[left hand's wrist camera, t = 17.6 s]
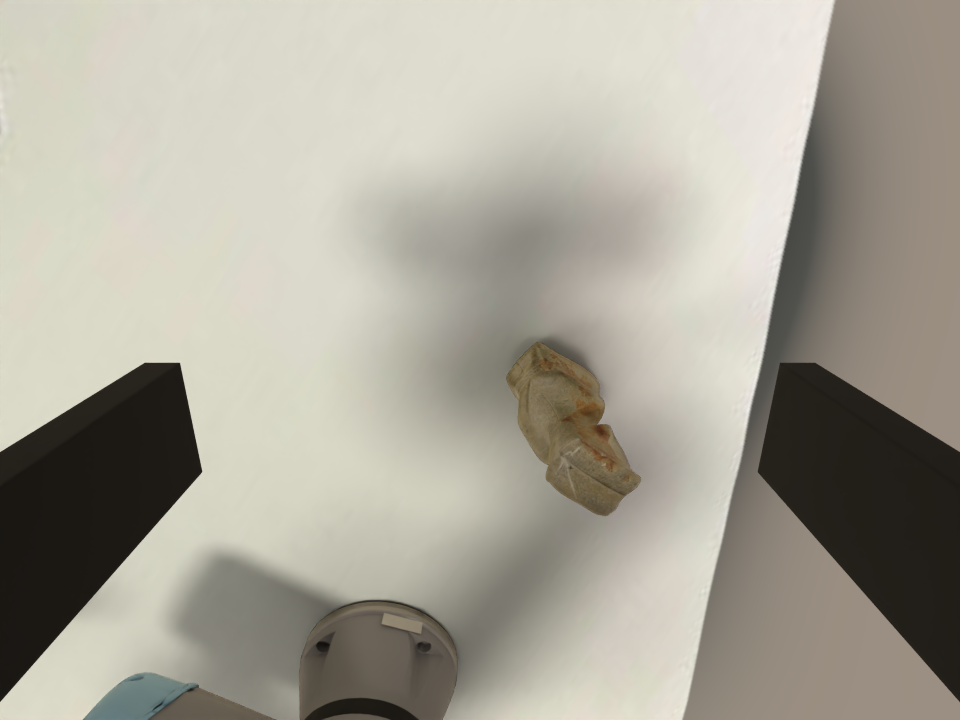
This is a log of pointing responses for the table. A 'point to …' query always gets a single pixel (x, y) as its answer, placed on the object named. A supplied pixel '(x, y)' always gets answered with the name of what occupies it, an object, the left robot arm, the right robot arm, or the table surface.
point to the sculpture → (570, 429)
